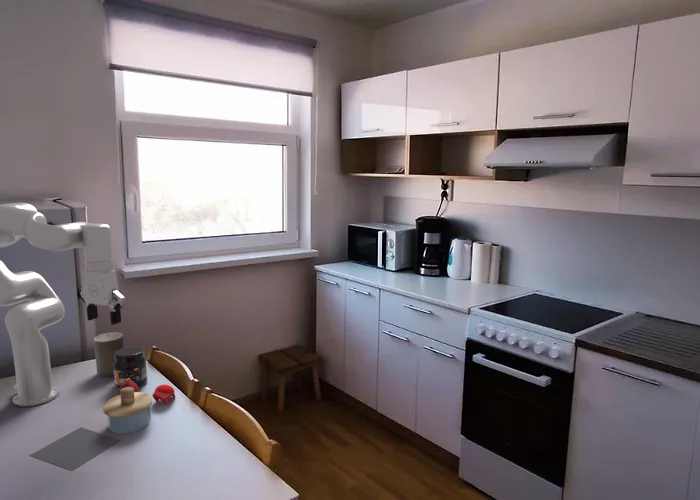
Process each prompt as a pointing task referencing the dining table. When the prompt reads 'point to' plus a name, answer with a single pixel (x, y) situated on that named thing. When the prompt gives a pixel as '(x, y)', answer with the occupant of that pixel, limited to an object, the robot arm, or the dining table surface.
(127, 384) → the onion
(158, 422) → the dining table surface
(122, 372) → the supplement container
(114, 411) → the lid
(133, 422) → the bowl
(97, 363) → the pillar candle
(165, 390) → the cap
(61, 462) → the mat
